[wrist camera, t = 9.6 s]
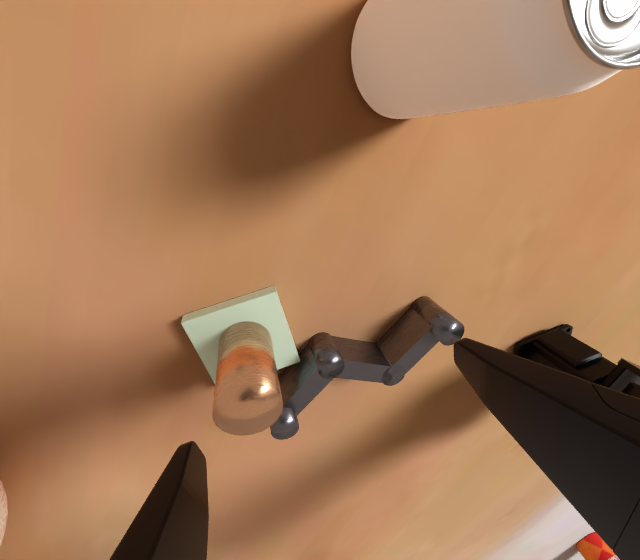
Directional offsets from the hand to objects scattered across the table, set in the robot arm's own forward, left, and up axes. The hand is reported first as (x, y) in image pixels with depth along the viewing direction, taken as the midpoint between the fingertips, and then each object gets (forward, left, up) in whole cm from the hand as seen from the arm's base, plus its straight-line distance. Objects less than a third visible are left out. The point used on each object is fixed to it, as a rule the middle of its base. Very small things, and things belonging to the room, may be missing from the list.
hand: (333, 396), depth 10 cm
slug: (-4, +4, -11) cm, 13 cm away
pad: (-4, +4, -12) cm, 13 cm away
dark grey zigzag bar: (-9, -3, -12) cm, 15 cm away
